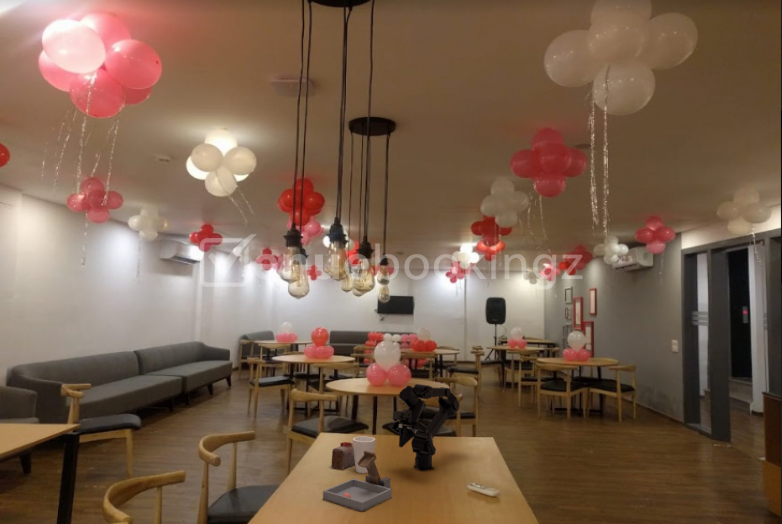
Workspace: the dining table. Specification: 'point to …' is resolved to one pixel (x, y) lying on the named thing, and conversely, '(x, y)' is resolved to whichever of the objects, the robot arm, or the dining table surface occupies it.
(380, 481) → the lever stand
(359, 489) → the tray
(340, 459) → the food item
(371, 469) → the lever
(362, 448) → the foam cup
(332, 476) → the dining table surface
